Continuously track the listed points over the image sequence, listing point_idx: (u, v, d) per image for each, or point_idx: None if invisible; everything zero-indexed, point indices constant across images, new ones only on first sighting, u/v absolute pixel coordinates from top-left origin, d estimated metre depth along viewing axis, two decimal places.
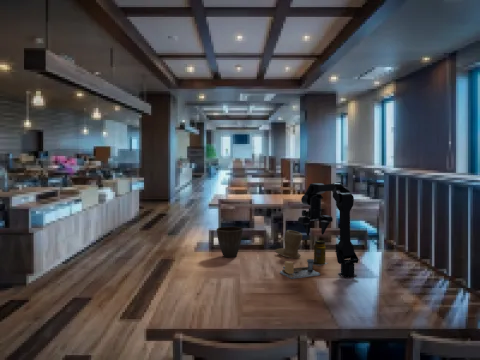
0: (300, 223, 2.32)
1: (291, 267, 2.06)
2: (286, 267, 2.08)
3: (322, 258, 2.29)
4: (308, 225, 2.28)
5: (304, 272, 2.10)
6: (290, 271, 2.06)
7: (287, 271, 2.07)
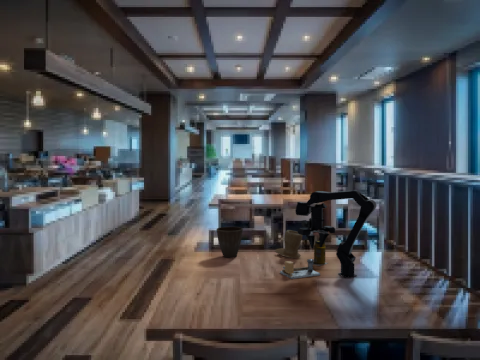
0: None
1: (291, 267, 2.06)
2: (286, 267, 2.08)
3: (322, 258, 2.29)
4: (312, 237, 2.10)
5: (304, 272, 2.10)
6: (290, 271, 2.06)
7: (287, 271, 2.07)
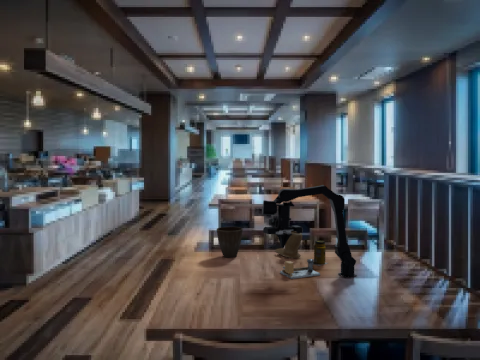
0: (274, 233, 2.07)
1: (291, 267, 2.06)
2: (286, 267, 2.08)
3: (322, 258, 2.29)
4: (282, 236, 2.03)
5: (304, 272, 2.10)
6: (290, 271, 2.06)
7: (287, 271, 2.07)
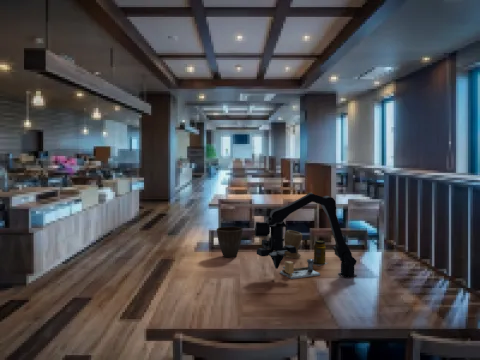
0: None
1: (291, 267, 2.06)
2: (286, 267, 2.08)
3: (322, 258, 2.29)
4: (276, 257, 2.02)
5: (304, 272, 2.10)
6: (290, 271, 2.06)
7: (287, 271, 2.07)
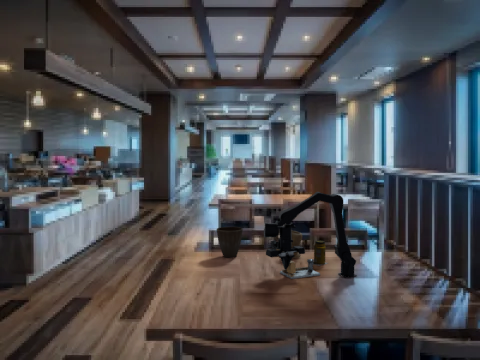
0: None
1: (293, 267, 2.07)
2: (288, 267, 2.08)
3: (322, 258, 2.29)
4: (285, 258, 2.04)
5: (304, 272, 2.10)
6: (292, 271, 2.06)
7: (289, 271, 2.08)
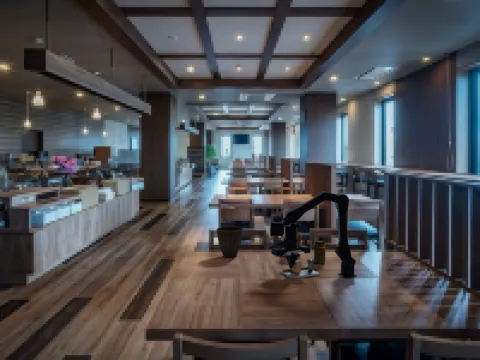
0: None
1: (298, 266, 2.08)
2: (293, 266, 2.10)
3: (322, 258, 2.29)
4: (290, 257, 2.05)
5: (304, 272, 2.10)
6: (297, 270, 2.08)
7: (294, 270, 2.09)
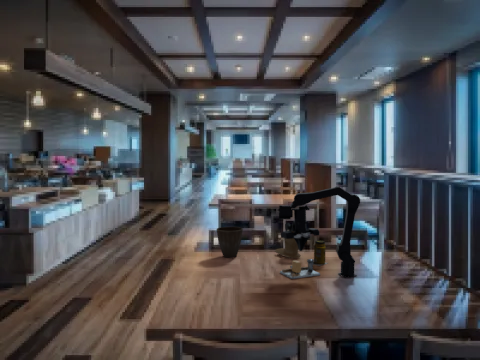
0: None
1: (298, 266, 2.08)
2: (293, 266, 2.10)
3: (322, 258, 2.29)
4: (300, 239, 2.07)
5: (304, 272, 2.10)
6: (297, 270, 2.08)
7: (294, 270, 2.09)
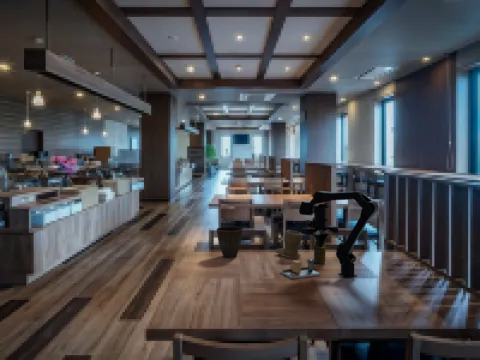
0: None
1: (298, 266, 2.08)
2: (293, 266, 2.10)
3: (322, 258, 2.29)
4: (320, 236, 2.12)
5: (304, 272, 2.10)
6: (297, 270, 2.08)
7: (294, 270, 2.09)
